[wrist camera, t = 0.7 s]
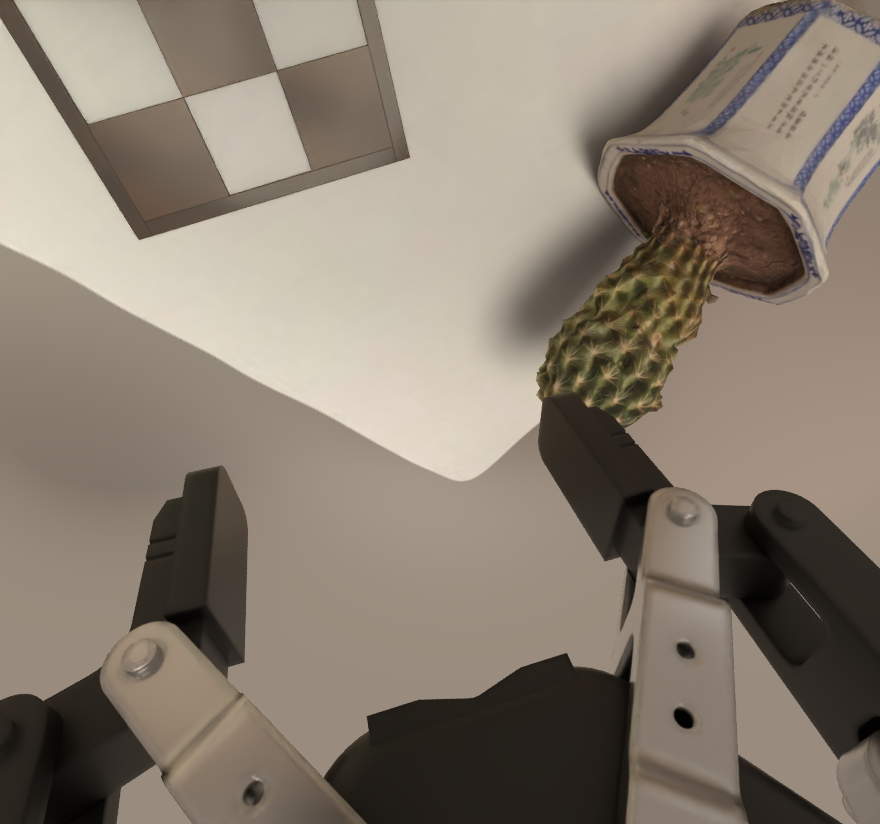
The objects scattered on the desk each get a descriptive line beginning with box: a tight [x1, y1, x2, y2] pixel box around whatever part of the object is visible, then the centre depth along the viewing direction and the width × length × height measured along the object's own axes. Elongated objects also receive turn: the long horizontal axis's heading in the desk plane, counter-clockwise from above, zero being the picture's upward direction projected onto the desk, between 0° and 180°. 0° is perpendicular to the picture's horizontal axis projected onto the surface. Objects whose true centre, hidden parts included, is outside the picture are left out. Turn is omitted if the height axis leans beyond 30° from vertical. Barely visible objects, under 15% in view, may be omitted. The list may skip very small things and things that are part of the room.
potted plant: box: [536, 0, 880, 429], centre depth 37 cm, size 18×18×30 cm
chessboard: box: [0, 0, 410, 240], centre depth 29 cm, size 20×20×1 cm
